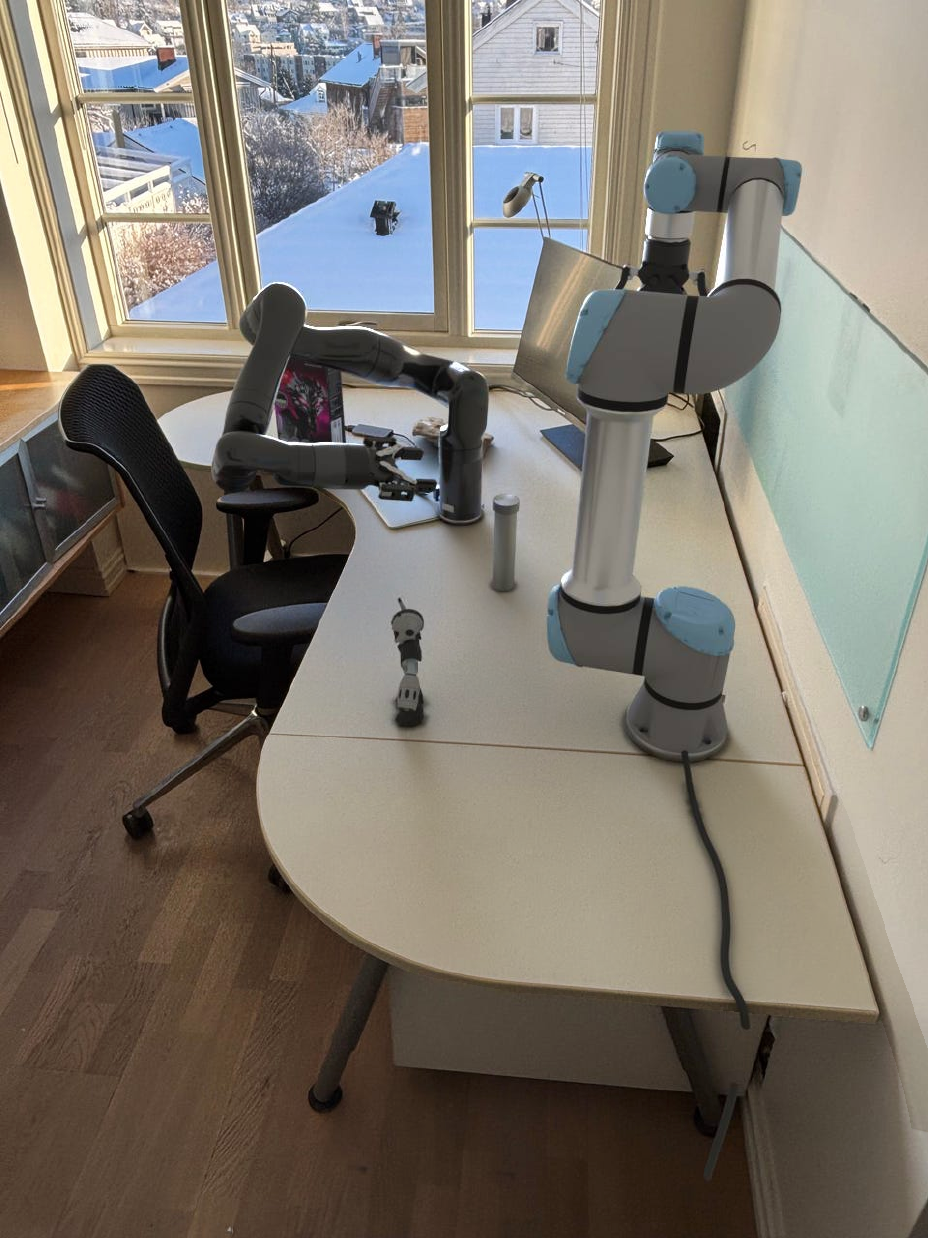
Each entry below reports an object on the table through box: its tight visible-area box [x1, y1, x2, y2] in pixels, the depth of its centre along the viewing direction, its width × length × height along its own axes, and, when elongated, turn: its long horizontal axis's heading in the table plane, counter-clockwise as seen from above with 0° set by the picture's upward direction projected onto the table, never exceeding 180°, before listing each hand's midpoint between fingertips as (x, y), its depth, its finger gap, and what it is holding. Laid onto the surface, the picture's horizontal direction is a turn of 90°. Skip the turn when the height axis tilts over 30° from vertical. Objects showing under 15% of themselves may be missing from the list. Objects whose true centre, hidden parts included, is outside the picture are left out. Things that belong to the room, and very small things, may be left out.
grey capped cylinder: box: [491, 511, 518, 592], centre depth 173 cm, size 4×4×18 cm
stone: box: [411, 416, 495, 458], centre depth 231 cm, size 21×15×6 cm
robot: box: [390, 597, 425, 728], centre depth 141 cm, size 20×5×20 cm, turn 3°
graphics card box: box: [274, 358, 347, 443], centre depth 223 cm, size 17×7×27 cm, turn 62°
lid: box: [492, 493, 521, 515], centre depth 168 cm, size 5×5×2 cm
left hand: (428, 469), depth 158 cm, fingers open, 8 cm apart
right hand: (652, 364), depth 163 cm, fingers open, 13 cm apart
